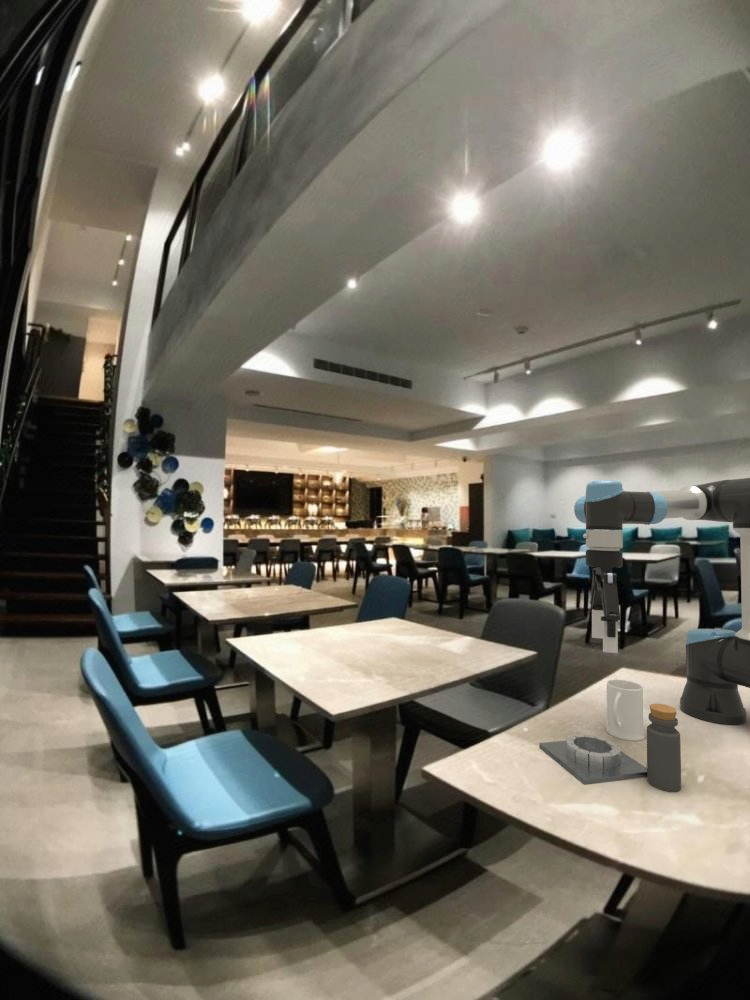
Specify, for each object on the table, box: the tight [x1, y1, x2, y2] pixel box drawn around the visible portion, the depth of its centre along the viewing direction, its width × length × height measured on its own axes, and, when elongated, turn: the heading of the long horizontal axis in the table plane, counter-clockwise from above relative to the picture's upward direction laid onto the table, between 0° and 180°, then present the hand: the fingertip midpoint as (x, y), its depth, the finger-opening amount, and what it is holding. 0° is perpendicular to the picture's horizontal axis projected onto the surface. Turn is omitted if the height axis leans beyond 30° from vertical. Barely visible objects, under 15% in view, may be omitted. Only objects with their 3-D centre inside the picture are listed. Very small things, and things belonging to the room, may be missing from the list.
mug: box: [605, 679, 646, 742], centre depth 118 cm, size 12×8×12 cm
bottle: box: [646, 703, 682, 793], centre depth 96 cm, size 6×6×15 cm
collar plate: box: [538, 733, 647, 785], centre depth 105 cm, size 16×16×4 cm
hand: (603, 644), depth 107 cm, fingers open, 13 cm apart
